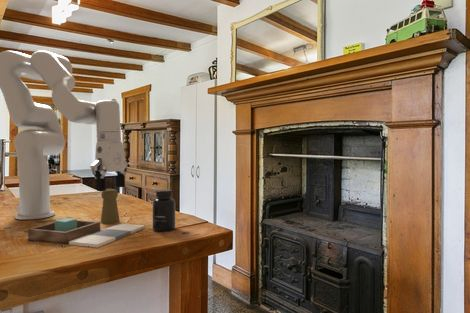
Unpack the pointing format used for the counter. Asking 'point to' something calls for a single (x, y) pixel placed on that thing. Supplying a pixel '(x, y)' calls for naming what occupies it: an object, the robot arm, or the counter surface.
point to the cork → (109, 207)
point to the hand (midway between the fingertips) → (111, 188)
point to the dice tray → (50, 235)
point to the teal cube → (65, 224)
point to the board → (106, 235)
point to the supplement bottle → (163, 211)
